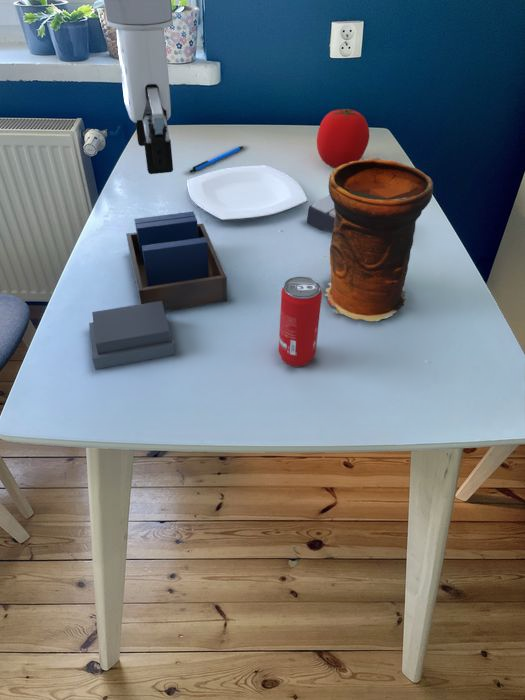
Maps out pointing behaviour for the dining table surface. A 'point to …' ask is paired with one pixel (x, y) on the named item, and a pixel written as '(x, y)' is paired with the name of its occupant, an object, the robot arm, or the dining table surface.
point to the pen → (215, 159)
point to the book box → (183, 291)
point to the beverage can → (299, 320)
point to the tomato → (342, 137)
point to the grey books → (130, 335)
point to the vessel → (373, 235)
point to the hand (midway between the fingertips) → (155, 157)
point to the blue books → (165, 229)
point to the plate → (245, 192)
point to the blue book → (176, 261)
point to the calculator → (322, 214)
